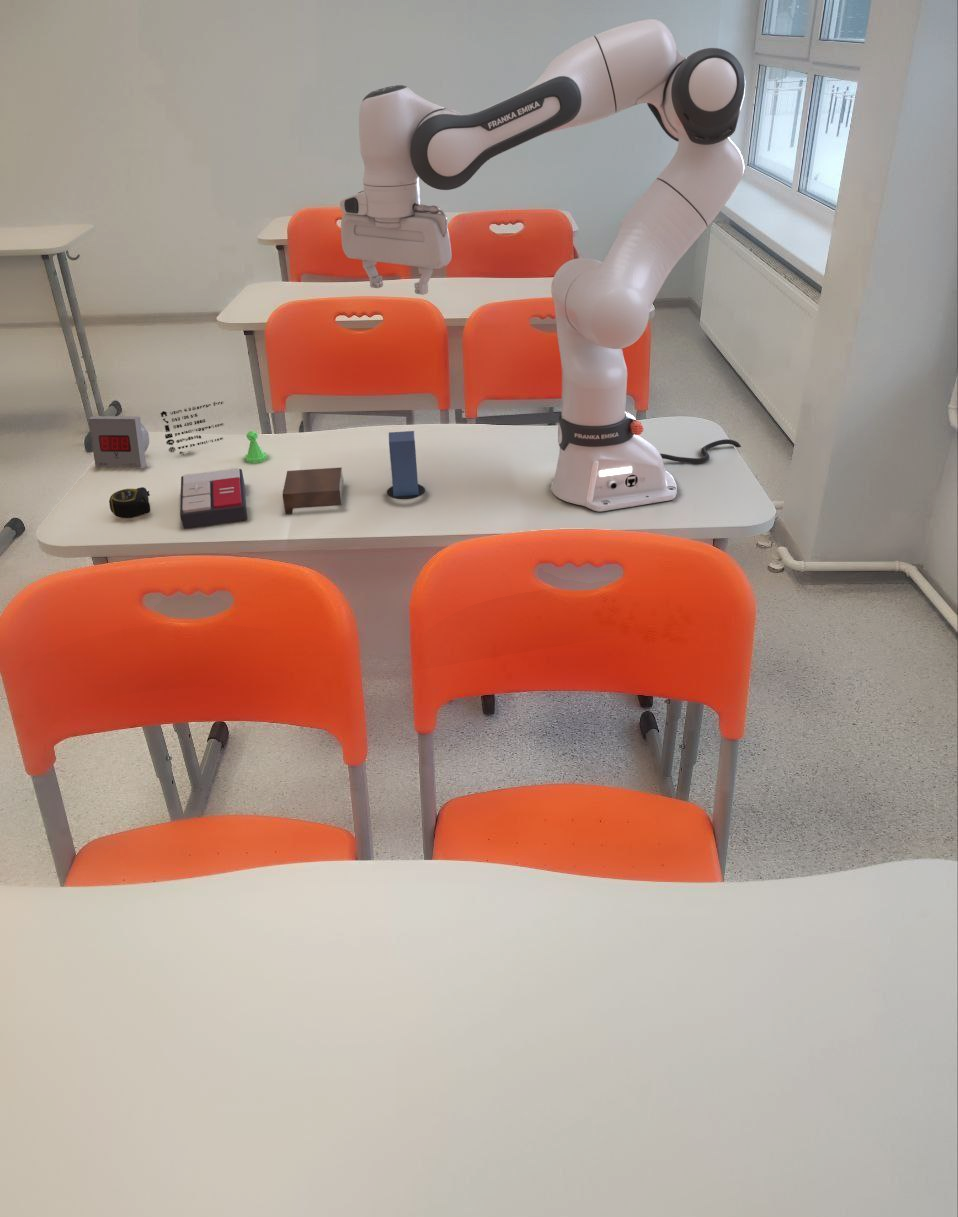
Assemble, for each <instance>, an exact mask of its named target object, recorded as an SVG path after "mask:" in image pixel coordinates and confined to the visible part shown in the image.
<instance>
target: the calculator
mask: <svg viewBox="0 0 958 1217" xmlns="http://www.w3.org/2000/svg"><path fill="white" fill-rule="evenodd" d="M179 504H180V506H179V507H180V508H179V511H180V512H179V516H180V520H181V525H182V528H183V529H185V530H188V529H195V528H196V529H197V528H203V527H212V526H219V525H225V524H232V523H241V522H246V521H248V510H247V509H248V508H247V497H246V485H245V478H244V473H243V469H242V468H237V467H236V468H229V469H221V470H212V471H206V472H196V473H189V474H188V473H187V474H183V475H181V477H180V503H179Z"/></svg>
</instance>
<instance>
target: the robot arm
mask: <svg viewBox="0 0 958 1217" xmlns="http://www.w3.org/2000/svg"><path fill="white" fill-rule="evenodd" d="M745 93H746V76H745V72H744V68H743V66H742V64H741V62H740V61H739V60H738V58H737V57H736V56H735V55H734V54H732V53H731V52H730V51H728V50H725V49H724V48H719V47H706V48H703V49H699V50H697V51H695V52H693V53H691V54H690V55H688V56H684V55H683V54H681V52H680V50H679V49H677V44H676V41H675V38H674V36H673V34H672V32H671V31H670V29H669V27H668V26H667V25H666V24H665V23H664V22H662V21H661V20H659V19H656V18H655V19H654V18H647V19H643V20H637V21H633V22H628V23H625V24H622V25H619V26H618V25H617V26H616V27H613V28H609V29H607V30H604V31H602V32H599V33H597V34H595V35H594V34H593V35H592V36H589V37H587V38H584V39H583V40H581V41H579V42H577V43H576V44H573V45H572V46H570V47H569V48H567V49H566V50H564V51H562V52H561V53H560V54H558V55H557V56H556V57H554V58H553V59H552V60H551V61H550V62H549V63H548V65H547V67H546V69H545V70H544V71H543V72H542V73H541V75H540V76H539V77H538V78H537V80H535V81H534V82H533V83H532V84H531V85H530V86H529V87H527V88H525V89H524V90H522V91H520V92H518V93H517V94H514V95H513V96H510V97H507V98H505V99H503V100H501V101H499V102H497V103H494V104H493V105H490V106H488V107H486V108H484V109H482V110H479V111H477V112H474V113H470V114H469V113H468V114H462V113H461V112H460V111H457V110H455V109H451V108H448V107H445V106H443V105H439V104H436V103H434V102H432V101H429V100H427V99H426V98H424V97H422V96H420V95H419V94H417V93H415V92H414V91H413V90H411V89H410V88H409V87H408V86H407V85H403V84H402V85H401V84H398V85H397V84H396V85H391V86H390V85H389V86H386V87H383V88H379V89H376V90H373V91H371V92H369V93H368V94H367V95H365V97H364V98H363V99H362V101H361V102H360V105H359V111H358V112H359V113H358V134H359V135H358V137H359V149H360V150H359V152H360V156H361V159H362V161H363V166H364V172H363V177H362V178H363V179H362V183H363V190H361V191H359V192H357V193H355V194H352V195H350V196H347V197H344V198H342V199H341V200H340V201H339V207H340V208H339V209H340V212H341V213H343V215H342V217H341V220H340V235H341V236H340V237H341V247H342V251H343V253H344V255H345V256H346V258H349V259H353V260H361V262H362V268H363V270H364V271H365V273H366V275H367V277H368V278H369V287H370V288H372V289H380V288H382V287H384V280H383V278H384V277H383V275H379V273H378V270H377V268H376V266H375V265H377V264H378V262H379V263H386V264H393V265H402V266H408V267H418V268H417V269H418V274H420V277H419V281H418V282H414V293H415V294H416V295H423V296H424V295H427V294H428V293H429V281H430V279H431V277H432V275H433V274H434V269H435V270H439V269H443V268H445V267H448V266H449V264H450V263H451V261H452V258H453V257H452V247H451V238H450V233H449V229H448V217H447V214H446V213H445V211H443V210H442V209H440V207H439V206H437V205H434V204H433V205H427V204H421V197H420V196H421V195H420V194H421V193H420V180H421V181H422V182H423V183H424V184H426V185H427V186H429V187H431V188H433V189H436V190H440V191H451V190H456V189H459V188H460V187H462V186H463V185H465V184H466V183H467V182H469V181H470V180H471V179H472V177H474V175H475V174H476V173H477V172H478V171H479V170H480V169H481V167H482V166H484V165H485V163H487V162H489V160H491V159H493V158H494V157H496V156H498V155H500V154H502V153H505V152H506V151H509V150H511V149H513V148H516V147H518V146H520V145H522V144H524V143H526V142H528V141H531V140H533V139H535V138H537V137H540V136H542V135H544V134H548V133H551V132H554V131H559V130H564V129H569V128H574V127H578V126H579V127H580V126H583V125H587V124H590V123H593V122H597V121H600V120H603V119H606V118H608V117H611V116H613V115H615V114H618V113H620V112H622V111H624V110H627V109H629V108H631V107H634V106H638V105H641V104H646V105H647V107H648V108H649V110H650V112H651V113H652V115H653V116H654V118H655V119H656V120H657V122H658V124H659V126H660V127H661V129H662V130H663V131H664V133H665V134H666V135H667V136H668V137H669V138H670V139H672V140H674V141H675V142H677V143H678V144H677V148H676V151H675V154H674V155H673V157H672V159H671V160H670V161H669V163H668V164H667V165H666V167H664V168H663V170H662V171H661V172H660V173H659V175H657V177H656V178H655V179H654V180H653V182H652V183H651V184H650V185H649V187H648V188H647V189H646V190H645V191H644V193H643V194H642V195H641V196H640V197H639V199H638V200H637V201H636V202H635V203H634V205H633V206H632V207H631V208H630V209H629V210H628V212H626V214H625V215H624V216H623V218H622V220H621V222H620V224H619V230H618V233H617V236H616V237H615V240H614V242H613V243H612V246H611V247H610V249H609V251H608V253H607V255H606V256H605V258H604V259H603V261H600V260H598V259H595V258H588V257H587V258H586V257H585V258H583V257H582V258H573V259H570V260H568V261H566V262H565V263H564V264H562V265H561V266H560V267H559V268H558V269H557V270H556V272H555V274H554V276H553V277H552V281H551V285H550V286H551V287H550V291H551V298H552V302H553V307H554V315H555V325H556V334H557V342H558V349H559V356H560V366H561V412H560V413H559V414H558V423H557V444H558V446H559V449H558V456H557V462H556V468H555V472H554V476H553V480H552V483H551V486H550V490H551V492H552V493H553V495H554V496H555V497H556V498H558V499H560V500H562V501H564V502H567V503H570V504H574V505H578V506H581V507H585V508H587V509H590V510H591V511H594V512H600V513H601V512H607V511H608V512H609V511H613V510H619V509H624V508H633V507H638V506H644V505H650V504H656V503H657V504H658V503H662V502H667V501H672V500H674V499H676V497H677V495H678V485H677V482H676V481H675V480H676V479H674V477H673V475H672V474H671V473H670V472H668V471H667V470H666V468H665V462H664V460H668V461H673V462H678V463H687V464H688V463H689V464H690V463H691V464H701V463H706V462H708V461H709V460H710V454H709V452H708V450H710V449H712V448H715V447H718V446H722V445H732V446H734V447H735V448H741V447H742V445H741V444H740V443H739V442H738V441H736V440H734V439H728V438H725V439H719V440H715V441H712V442H710V443H707V444H705V445H704V446H703V447H701V450H700V451H701V454H702V456H703V457H684V456H675V455H672V454H668V453H667V454H666V453H660V452H659V450H658V449H657V448H656V447H655V446H654V445H653V444H652V443H650V442H649V441H647V440H646V439H644V438H643V437H642V436H640V435H642V433H644V426H643V424H642V423H641V421H639V420H637V418H636V417H635V416H634V415H633V414H631V412H629V410H626V409H627V408H626V406H627V389H628V388H627V387H628V367H627V364H626V361H625V357H624V356H625V355H624V352H623V349H625V348H627V347H630V346H632V345H633V344H634V343H636V342H637V341H639V339H640V338H641V337H642V336H643V334H644V333H645V331H646V330H647V326H648V324H649V318H650V312H651V308H652V305H653V304H654V301H656V300H655V299H656V298H657V296H658V294H659V292H660V290H661V289H662V287H663V285H664V283H665V282H666V280H667V278H668V276H669V275H670V273H671V271H672V270H673V269H674V267H675V266H676V265H677V263H678V262H679V261H680V260H681V259H682V258H683V257H684V255H685V254H686V253H687V251H688V250H689V249H690V248H691V247H692V246H693V244H694V243H695V242H696V241H697V240H698V238H700V236H701V235H702V234H703V233H704V231H705V230H707V228H708V227H709V226H710V225H711V224H712V223H713V221H714V220H715V219H716V217H717V216H718V215H719V214H720V213H721V211H722V210H723V208H724V207H725V205H726V204H727V202H728V201H729V199H730V198H731V196H732V195H733V194H734V192H735V190H736V189H737V187H738V185H739V183H740V182H741V180H742V178H743V175H744V171H745V163H744V158H743V155H742V154H741V151H740V149H739V148H738V147H737V145H736V144H735V143H734V142H733V141H732V140H731V138H730V137H731V136H732V135H734V133H735V131H736V129H737V125H738V121H739V118H740V114H741V109H742V106H743V102H744V98H745Z"/></svg>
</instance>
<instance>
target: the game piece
mask: <svg viewBox="0 0 958 1217" xmlns="http://www.w3.org/2000/svg"><path fill="white" fill-rule="evenodd" d="M245 436H246V438H247V441H249V446H248V450H247V454H245V462H246V463H249V464H258V463H259V464H260V463H262V462H264V461H267V453H266V452H264V451H263V450H262V448H261V446H260V445H259V443H258V442H257V439H258V438H259V435H258V433H257V432H256V431H254V430H249V431H248V432H247V433H246V435H245Z"/></svg>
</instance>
